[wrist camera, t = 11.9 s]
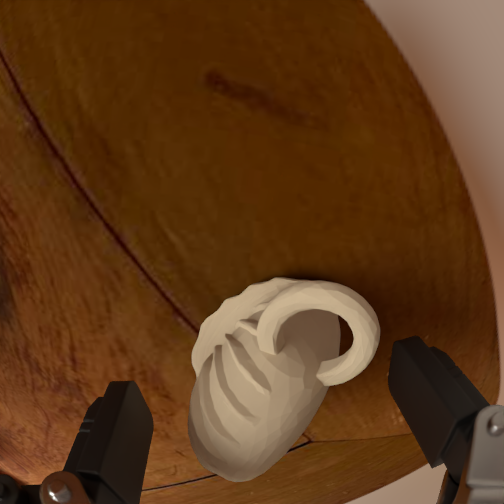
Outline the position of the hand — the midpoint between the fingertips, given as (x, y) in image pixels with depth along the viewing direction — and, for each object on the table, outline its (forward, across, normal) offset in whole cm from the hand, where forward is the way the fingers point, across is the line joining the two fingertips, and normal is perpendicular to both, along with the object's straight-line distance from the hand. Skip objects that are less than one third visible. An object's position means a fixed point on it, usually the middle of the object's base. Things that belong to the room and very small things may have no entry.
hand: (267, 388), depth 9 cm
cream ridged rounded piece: (+3, 0, 0) cm, 3 cm away
